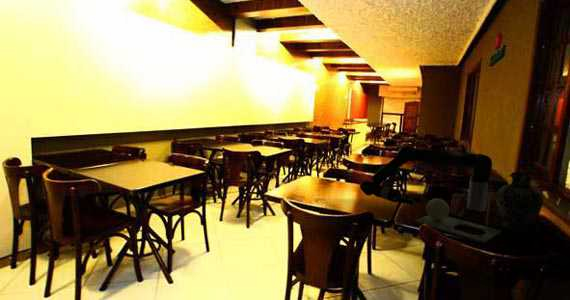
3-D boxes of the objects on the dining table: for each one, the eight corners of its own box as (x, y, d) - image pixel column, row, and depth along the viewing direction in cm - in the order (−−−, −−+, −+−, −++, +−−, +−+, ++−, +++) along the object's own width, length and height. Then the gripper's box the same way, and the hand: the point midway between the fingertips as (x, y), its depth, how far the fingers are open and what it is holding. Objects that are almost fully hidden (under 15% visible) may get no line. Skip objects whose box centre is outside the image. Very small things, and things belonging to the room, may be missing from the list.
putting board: (414, 222, 163) (418, 186, 160) (434, 214, 177) (438, 181, 174) (483, 243, 138) (489, 201, 136) (501, 232, 152) (506, 194, 150)
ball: (439, 215, 171) (441, 196, 170) (453, 223, 161) (455, 202, 159) (420, 216, 170) (422, 196, 168) (433, 223, 159) (435, 202, 157)
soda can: (466, 218, 172) (468, 196, 171) (452, 216, 174) (454, 195, 172) (461, 214, 179) (464, 193, 178) (448, 212, 180) (450, 192, 179)
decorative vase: (542, 238, 147) (549, 179, 143) (494, 230, 156) (500, 174, 153) (535, 225, 165) (542, 172, 161) (493, 218, 174) (498, 168, 171)
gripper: (384, 189, 180) (410, 196, 168) (397, 186, 189) (424, 193, 177) (383, 202, 181) (409, 210, 169) (396, 198, 190) (422, 206, 178)
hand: (417, 201), depth 173 cm, fingers open, 8 cm apart
